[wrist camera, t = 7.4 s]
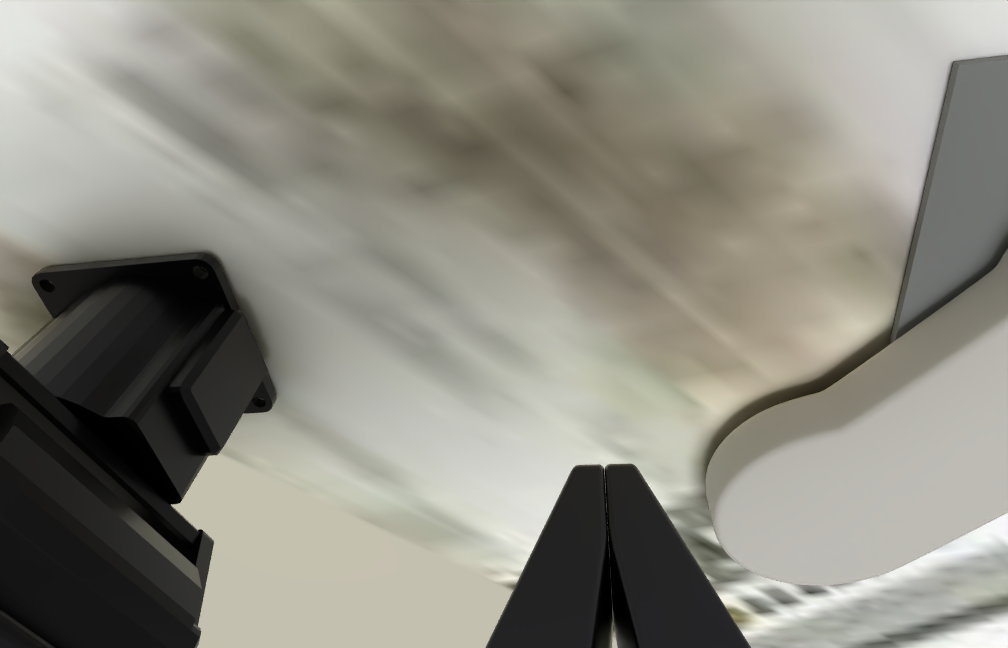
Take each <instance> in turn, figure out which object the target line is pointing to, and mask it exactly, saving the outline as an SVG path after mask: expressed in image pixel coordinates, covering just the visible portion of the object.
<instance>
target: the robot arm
mask: <svg viewBox="0 0 1008 648" xmlns="http://www.w3.org/2000/svg"><path fill="white" fill-rule="evenodd" d="M199 266H202V267H204V268H205V269H206V270H207V271H208V273H205V272H203V271H201V269H200V268H199ZM49 281H50V282H52V283H53V284H54V285H52V284H51V283H50V282H49ZM32 284H33V286H34V288H35V290H36V291H37V293H38V295H39V296H40V298H41V299H42V301H43V303H44V304H45V306H46V307H47V309H48V311H49V312H50V314H51V315H52V317H53V319H52V320H50V321H49V322H48V323H47V324H46V325H45V326H44V327H43V328H41V329H40V330H39V331H38V332H37V333H36V334H35V335H34V336H33V337H31V338H30V339H29V340H28V341H27V342H26V343H25V344H24V345H22V346H21V347H20V348H19V349H18V350H17V351H16V352H15V353H13V354H12V355H11V354H9V353H8V352H7V350H8V348H9V347H8V346H7V345H6V344H5V343H4V342H3V341H2V340H1V339H0V648H197V646H198V644H199V639H200V635H201V630H200V628H199V627H198V622H199V617H200V612H201V606H202V602H203V596H204V591H205V586H206V581H207V575H208V571H209V565H210V560H211V555H212V550H213V545H214V541H213V540H212V539H211V538H210V537H209V536H208V535H207V534H206V533H205V532H204V531H203V530H197V529H196V528H195V527H194V526H193V525H191V524H190V523H189V522H188V521H187V520H186V519H185V518H184V517H183V516H182V515H181V514H180V513H179V512H178V511H177V510H176V509H175V508H173V507H172V506H171V505H170V504H178V503H180V502H181V501H182V499H183V497H184V495H185V494H186V492H187V491H188V489H189V487H190V486H191V484H192V482H193V481H194V479H195V477H196V476H197V474H198V472H199V471H200V469H201V467H202V466H203V464H204V462H205V461H206V459H207V457H208V456H209V455H218V454H219V453H220V451H221V450H222V448H223V447H224V445H225V443H226V442H227V440H228V438H229V437H230V435H231V433H232V431H233V430H234V428H235V426H236V425H237V423H238V421H239V419H240V418H241V416H242V414H243V413H262V412H267V411H269V410H271V408H272V407H273V405H274V403H275V401H276V394H275V391H274V389H273V387H272V384H271V382H270V380H269V377H268V375H267V368H266V366H265V363H264V361H263V358H262V356H261V354H260V351H259V349H258V347H257V344H256V342H255V340H254V337H253V335H252V333H251V330H250V328H249V326H248V323H247V321H246V319H245V316H244V315H243V314H242V313H241V312H240V310H239V308H238V305H237V303H236V301H235V298H234V296H233V294H232V291H231V289H230V287H229V284H228V282H227V280H226V277H225V275H224V273H223V270H222V268H221V266H220V264H219V262H218V261H217V260H216V259H215V258H214V257H213V256H211V255H209V254H206V253H193V254H182V255H172V256H161V257H150V258H139V259H128V260H117V261H106V262H95V263H85V264H74V265H63V266H52V267H45V268H43V269H41V270H40V271H39V272H37V273H36V274H35V275H34V276H33V277H32ZM258 397H261V398H262V399H264V400H261V399H259V398H258ZM605 486H606V491H605ZM606 504H607V507H606ZM607 521H608V524H607ZM608 538H609V541H608ZM609 555H610V559H609ZM610 571H611V576H610ZM611 588H612V594H611ZM612 605H613V616H612ZM613 617H614V627H615V633H616V640H617V646H618V648H751V647H750V645H749V643H748V642H747V640H746V639H745V637H744V636H743V634H742V632H741V631H740V629H739V628H738V626H737V625H736V623H735V621H734V620H733V618H732V617H731V615H730V613H729V612H728V610H727V609H726V607H725V606H724V604H723V602H722V601H721V599H720V598H719V596H718V595H717V593H716V591H715V590H714V588H713V587H712V585H711V583H710V582H709V580H708V579H707V577H706V576H705V574H704V572H703V571H702V569H701V568H700V566H699V565H698V563H697V561H696V560H695V558H694V557H693V555H692V553H691V552H690V550H689V549H688V547H687V546H686V544H685V542H684V541H683V539H682V538H681V536H680V535H679V533H678V531H677V530H676V528H675V527H674V525H673V524H672V522H671V520H670V519H669V517H668V516H667V514H666V512H665V511H664V509H663V508H662V506H661V505H660V503H659V501H658V500H657V498H656V497H655V495H654V494H653V492H652V490H651V489H650V487H649V486H648V484H647V482H646V481H645V479H644V478H643V476H642V475H641V473H640V471H639V470H638V468H637V467H636V466H635V465H633V464H609V465H607V466H606V467H605V475H604V468H603V466H601V465H577V466H575V467H574V468H573V469H572V471H571V473H570V475H569V477H568V479H567V481H566V483H565V485H564V487H563V489H562V491H561V493H560V495H559V497H558V499H557V501H556V503H555V506H554V508H553V510H552V512H551V514H550V516H549V518H548V520H547V522H546V524H545V526H544V528H543V530H542V532H541V534H540V536H539V539H538V541H537V543H536V545H535V547H534V549H533V551H532V553H531V555H530V557H529V559H528V561H527V563H526V565H525V567H524V569H523V572H522V574H521V576H520V578H519V580H518V582H517V584H516V586H515V588H514V590H513V592H512V594H511V596H510V598H509V600H508V602H507V605H506V607H505V609H504V611H503V613H502V615H501V617H500V619H499V621H498V624H497V625H496V627H495V629H494V632H493V633H492V635H491V638H490V640H489V642H488V644H487V646H486V648H612V634H613Z"/></svg>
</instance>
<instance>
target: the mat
mask: <svg viewBox="0 0 1008 648" xmlns="http://www.w3.org/2000/svg"><path fill="white" fill-rule="evenodd" d="M1007 249H1008V55H1007V56H999V57H990V58H981V59H973V60H964V61H955V62H953V67H952V71H951V75H950V80H949V84H948V89H947V93H946V97H945V102H944V106H943V110H942V115H941V119H940V124H939V128H938V132H937V137H936V141H935V145H934V150H933V154H932V159H931V163H930V167H929V172H928V176H927V181H926V185H925V189H924V194H923V198H922V202H921V207H920V211H919V216H918V220H917V224H916V229H915V233H914V237H913V242H912V246H911V251H910V255H909V259H908V264H907V268H906V272H905V277H904V281H903V286H902V290H901V294H900V299H899V303H898V307H897V312H896V316H895V321H894V325H893V329H892V334H891V338H890V342H889V345H890V344H891V343H893V342H894V341H895V340H897V339H898V338H900V337H901V336H903V335H904V334H905V333H907V332H908V331H910V330H911V329H912V328H914V327H915V326H916V325H918V324H919V323H921V322H922V321H923V320H925V319H926V318H928V317H929V316H930V315H932V314H933V313H935V312H936V311H937V310H939V309H940V308H942V307H943V306H944V305H946V304H947V303H949V302H950V301H951V300H953V299H954V298H955V297H957V296H958V295H960V294H961V293H962V292H964V291H965V290H966V289H968V288H969V287H971V286H972V285H973V284H975V283H976V282H977V281H979V280H980V279H981V278H983V277H984V276H985V275H986V274H988V273H989V272H990V271H992V270H993V269H994V268H995V267H996V266H997V265H998V263H999V261H1000V260H1001V258H1002V257H1003V255H1004V253H1005V252H1006V250H1007Z"/></svg>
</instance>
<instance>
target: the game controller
mask: <svg viewBox="0 0 1008 648" xmlns="http://www.w3.org/2000/svg"><path fill="white" fill-rule="evenodd" d="M705 488H706V495H707V500H708V505H709V509H710V514H711V519H712V523H713V527H714V531H715V534H716V537H717V539H718V541H719V543H720V544H721V546H722V548H723V549H724V550H725V552H726V553H727V554H728V555H729V556H730V557H731V558H732V559H733V560H735V561H736V562H737V563H738V564H740V565H741V566H743V567H744V568H746V569H748V570H750V571H752V572H753V573H756V574H758V575H760V576H763V577H766V578H769V579H772V580H776V581H780V582H785V583H791V584H799V585H836V584H845V583H851V582H856V581H861V580H865V579H869V578H873V577H876V576H879V575H882V574H885V573H888V572H890V571H893V570H895V569H897V568H900V567H902V566H904V565H906V564H908V563H910V562H912V561H914V560H916V559H918V558H920V557H922V556H924V555H926V554H928V553H930V552H932V551H934V550H936V549H938V548H940V547H942V546H944V545H946V544H948V543H950V542H952V541H953V540H955V539H957V538H959V537H961V536H963V535H965V534H967V533H969V532H971V531H973V530H975V529H977V528H979V527H981V526H983V525H985V524H987V523H989V522H991V521H992V520H994V519H996V518H998V517H1000V516H1002V515H1004V514H1006V513H1008V249H1007V250H1006V252H1005V253H1004V255H1003V257H1002V258H1001V260H1000V261H999V263H998V265H997V266H996V267H995V268H994V269H993V270H992V271H990V272H989V273H988V274H986V275H985V276H984V277H983V278H981V279H980V280H979V281H977V282H976V283H975V284H973V285H972V286H971V287H969V288H968V289H966V290H965V291H964V292H962V293H961V294H960V295H958V296H957V297H955V298H954V299H953V300H951V301H950V302H949V303H947V304H946V305H944V306H943V307H942V308H940V309H939V310H937V311H936V312H935V313H933V314H932V315H930V316H929V317H928V318H926V319H925V320H923V321H922V322H921V323H919V324H918V325H916V326H915V327H914V328H912V329H911V330H910V331H908V332H907V333H905V334H904V335H903V336H901V337H900V338H898V339H897V340H895V341H894V342H893V343H891V344H890V345H888V346H887V347H886V348H884V349H883V350H881V351H880V352H879V353H877V354H876V355H874V356H873V357H872V358H870V359H869V360H867V361H866V362H865V363H863V364H862V365H860V366H859V367H857V368H856V369H855V370H853V371H852V372H850V373H849V374H847V375H846V376H845V377H843V378H842V379H840V380H839V381H837V382H836V383H834V384H833V385H831V386H830V387H828V388H827V389H825V390H824V391H821V392H819V393H815V394H811V395H807V396H803V397H800V398H796V399H793V400H789V401H786V402H783V403H780V404H778V405H775V406H773V407H770V408H768V409H766V410H764V411H762V412H760V413H758V414H756V415H754V416H753V417H751V418H749V419H748V420H746V421H745V422H743V423H742V424H741V425H739V426H738V427H737V428H736V429H734V430H733V431H732V432H731V433H730V434H729V435H728V436H727V437H726V438H725V439H724V440H723V442H722V443H721V444H720V445H719V447H718V448H717V450H716V451H715V453H714V454H713V456H712V458H711V460H710V463H709V465H708V468H707V473H706V480H705Z"/></svg>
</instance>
